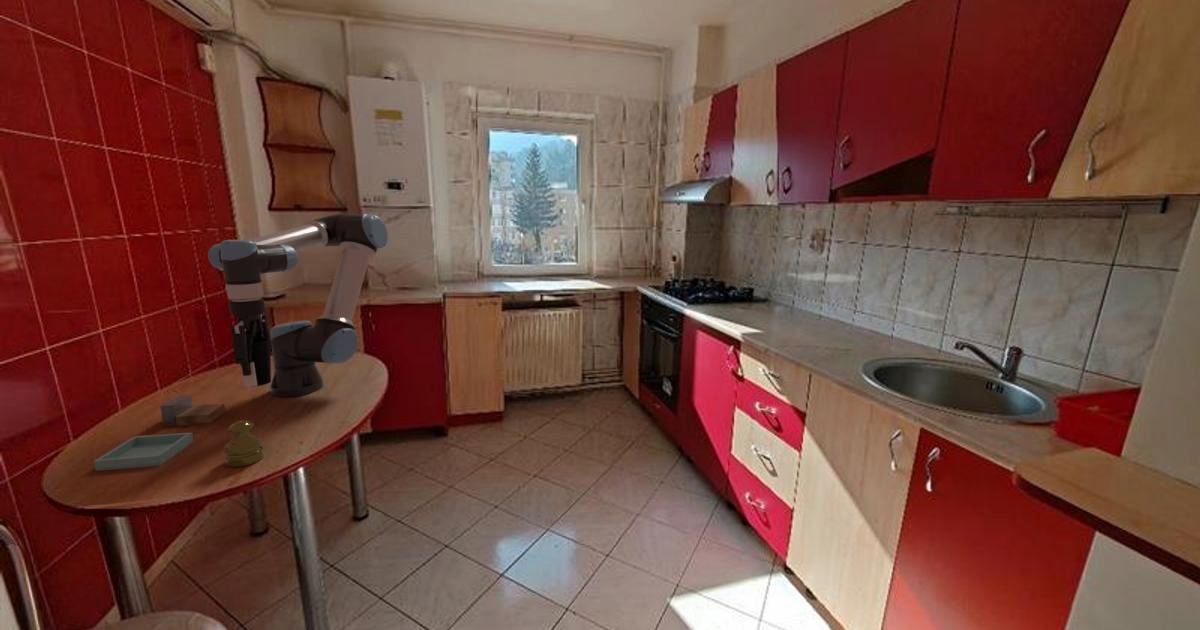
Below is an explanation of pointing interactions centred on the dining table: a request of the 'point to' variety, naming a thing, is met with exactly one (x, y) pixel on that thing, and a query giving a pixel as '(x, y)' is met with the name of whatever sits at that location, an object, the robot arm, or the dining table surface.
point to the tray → (144, 451)
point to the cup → (262, 361)
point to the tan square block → (200, 414)
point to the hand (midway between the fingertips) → (258, 380)
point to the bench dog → (175, 409)
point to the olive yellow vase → (243, 445)
